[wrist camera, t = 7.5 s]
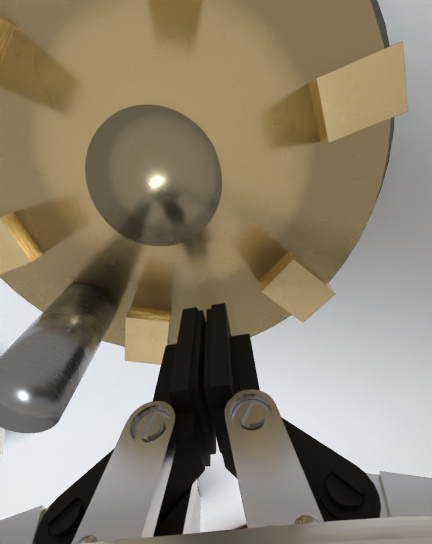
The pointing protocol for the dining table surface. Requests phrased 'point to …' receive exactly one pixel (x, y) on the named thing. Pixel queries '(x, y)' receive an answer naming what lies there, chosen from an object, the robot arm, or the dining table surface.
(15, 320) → the dining table surface
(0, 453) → the lidded jar
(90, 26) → the gold dish
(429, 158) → the dining table surface
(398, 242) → the dining table surface
